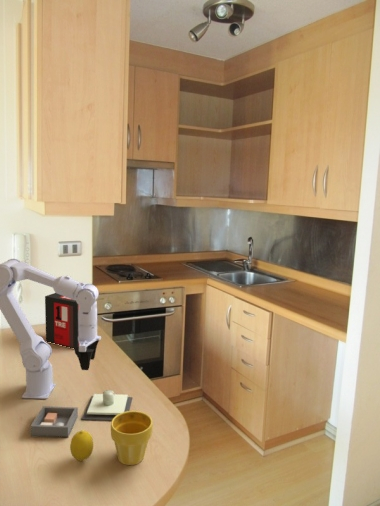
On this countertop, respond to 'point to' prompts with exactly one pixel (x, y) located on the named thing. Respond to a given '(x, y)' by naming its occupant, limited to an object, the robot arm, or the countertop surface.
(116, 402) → the lid
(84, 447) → the lemon
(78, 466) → the countertop surface
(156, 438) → the countertop surface
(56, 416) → the storage box
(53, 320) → the cleaning product box
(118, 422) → the plant pot
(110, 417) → the mat
